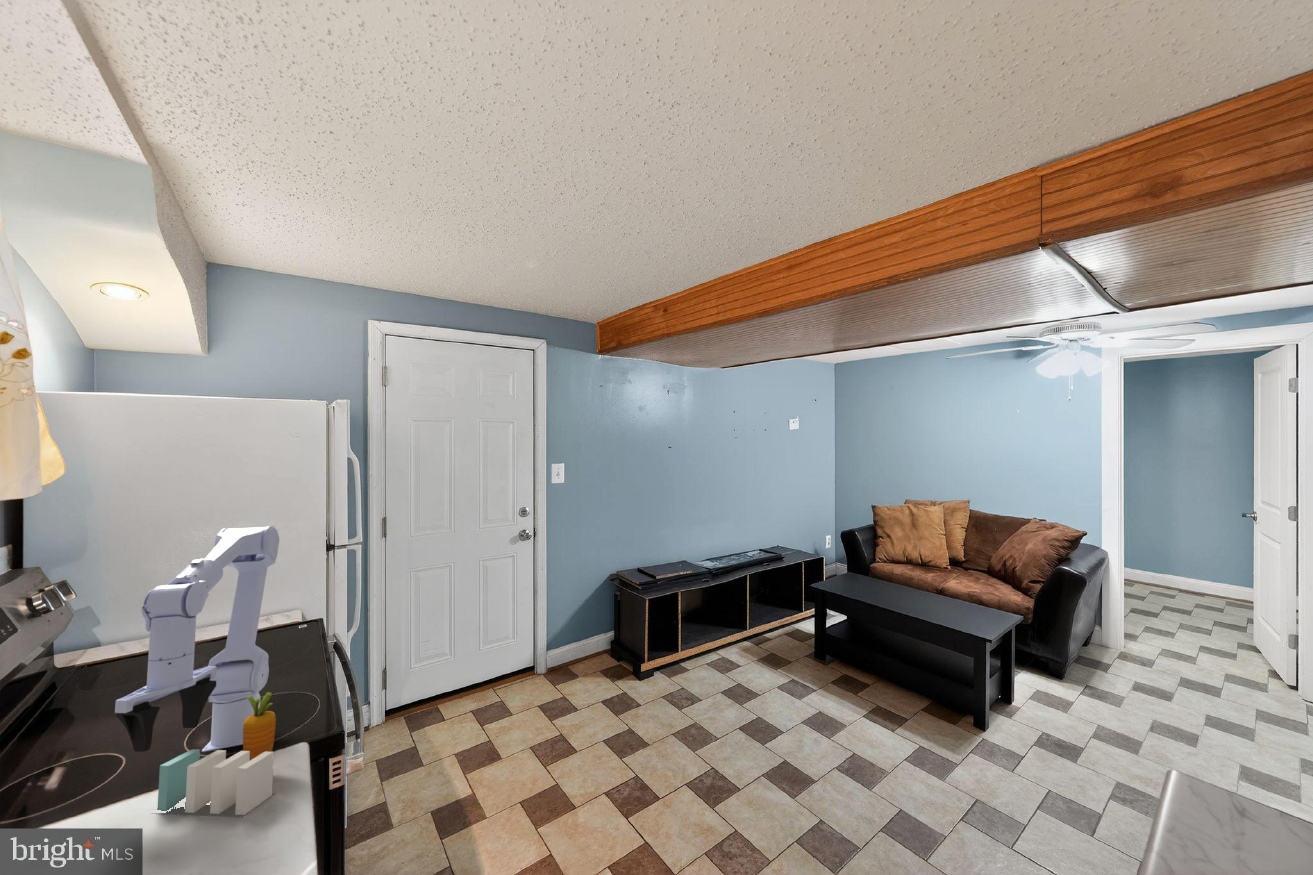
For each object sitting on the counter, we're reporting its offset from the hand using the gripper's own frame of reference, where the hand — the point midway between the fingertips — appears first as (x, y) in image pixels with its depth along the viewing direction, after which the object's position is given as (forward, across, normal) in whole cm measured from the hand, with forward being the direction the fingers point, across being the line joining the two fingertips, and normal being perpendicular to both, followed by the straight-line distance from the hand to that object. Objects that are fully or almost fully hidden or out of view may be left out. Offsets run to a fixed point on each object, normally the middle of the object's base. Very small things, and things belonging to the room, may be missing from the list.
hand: (167, 738), depth 84 cm
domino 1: (+10, 0, -8) cm, 13 cm away
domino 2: (+10, 0, -12) cm, 16 cm away
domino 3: (+10, 0, -17) cm, 20 cm away
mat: (+10, 0, -10) cm, 14 cm away
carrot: (+11, +7, -10) cm, 16 cm away
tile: (+10, 0, -3) cm, 10 cm away
